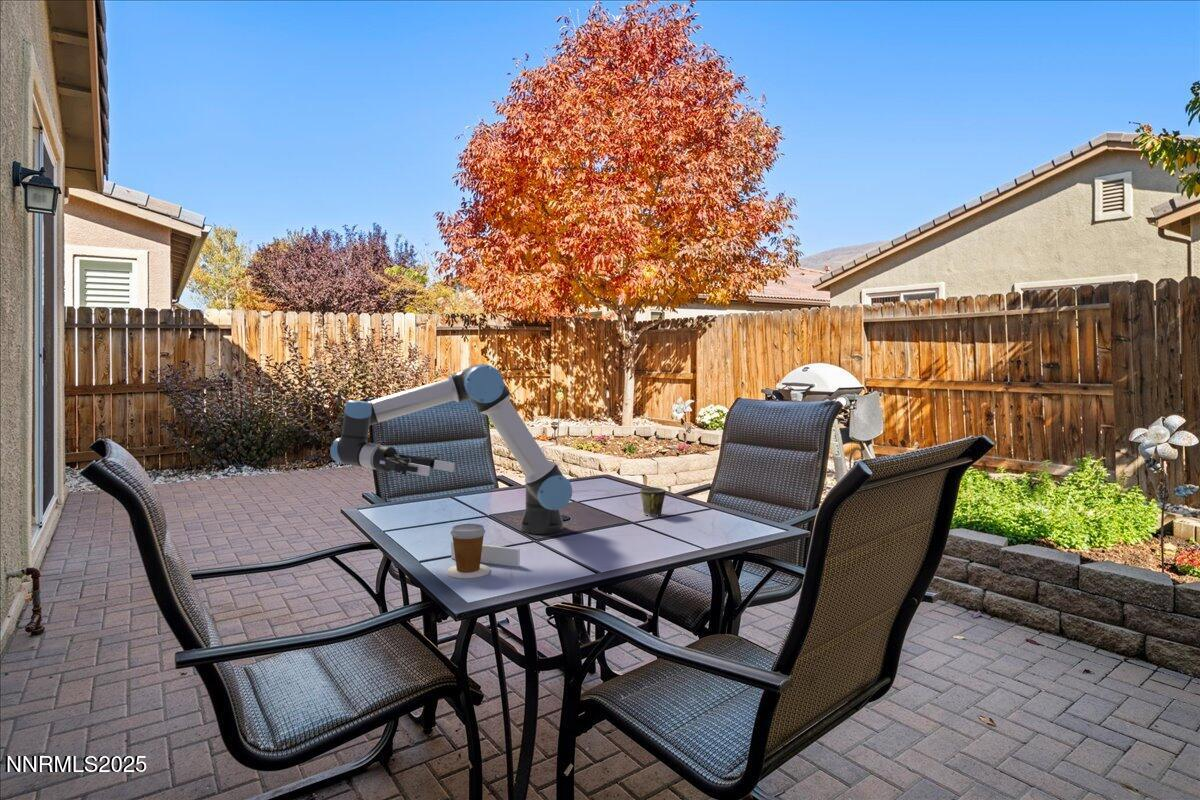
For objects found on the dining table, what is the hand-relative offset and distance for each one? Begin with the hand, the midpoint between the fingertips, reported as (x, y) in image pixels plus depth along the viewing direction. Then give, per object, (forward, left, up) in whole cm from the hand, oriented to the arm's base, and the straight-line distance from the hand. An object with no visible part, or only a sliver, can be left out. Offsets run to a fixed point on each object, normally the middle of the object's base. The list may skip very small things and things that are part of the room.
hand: (441, 469), depth 188 cm
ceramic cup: (-61, -69, -28) cm, 96 cm away
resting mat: (-9, +6, -28) cm, 30 cm away
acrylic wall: (-12, -4, -28) cm, 30 cm away
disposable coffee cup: (-9, +5, -28) cm, 29 cm away
